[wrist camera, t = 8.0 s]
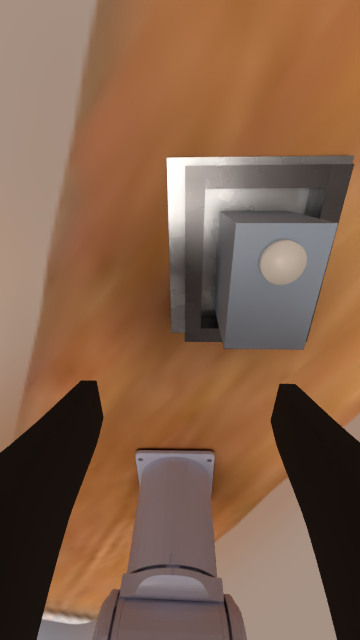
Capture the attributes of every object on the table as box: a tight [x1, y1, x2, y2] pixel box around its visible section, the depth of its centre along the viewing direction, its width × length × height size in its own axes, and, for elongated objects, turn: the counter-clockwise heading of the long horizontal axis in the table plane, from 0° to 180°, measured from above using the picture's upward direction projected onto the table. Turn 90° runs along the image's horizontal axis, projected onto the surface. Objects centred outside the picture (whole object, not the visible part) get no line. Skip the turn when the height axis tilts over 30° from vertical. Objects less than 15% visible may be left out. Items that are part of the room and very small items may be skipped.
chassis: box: [167, 156, 354, 342], centre depth 16 cm, size 11×10×2 cm
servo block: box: [214, 211, 338, 350], centre depth 14 cm, size 6×4×6 cm, turn 0°
